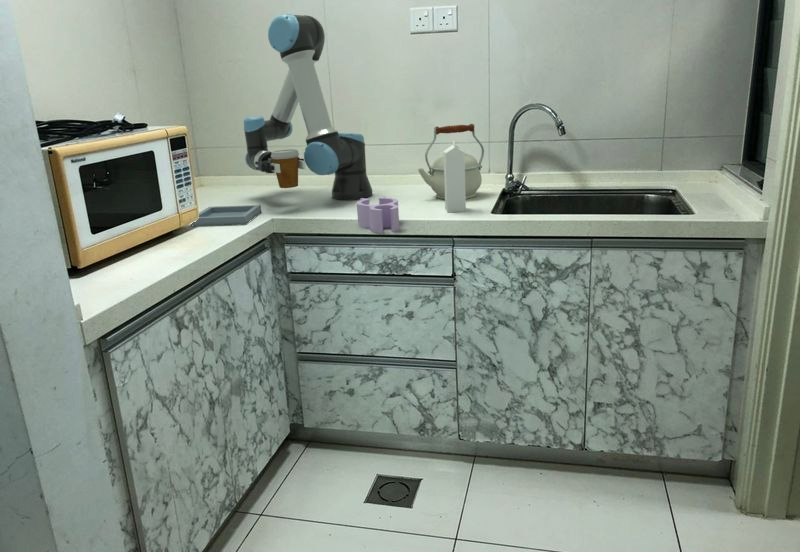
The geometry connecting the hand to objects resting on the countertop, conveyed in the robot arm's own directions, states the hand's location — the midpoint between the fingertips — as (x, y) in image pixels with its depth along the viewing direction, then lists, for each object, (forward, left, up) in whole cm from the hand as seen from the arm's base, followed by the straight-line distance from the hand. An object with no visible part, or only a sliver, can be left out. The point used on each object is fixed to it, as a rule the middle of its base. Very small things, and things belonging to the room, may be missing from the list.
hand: (291, 166), depth 217 cm
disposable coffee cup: (+3, -4, -7) cm, 9 cm away
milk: (-54, +5, -16) cm, 56 cm away
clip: (-31, +23, -16) cm, 41 cm away
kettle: (-53, -18, -16) cm, 58 cm away
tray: (+21, +7, -15) cm, 27 cm away
